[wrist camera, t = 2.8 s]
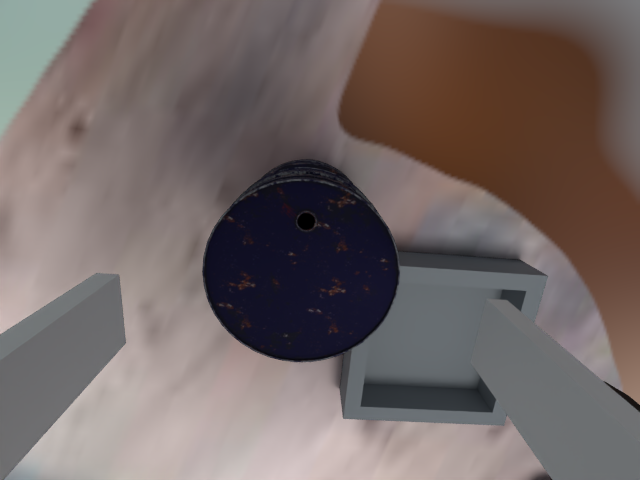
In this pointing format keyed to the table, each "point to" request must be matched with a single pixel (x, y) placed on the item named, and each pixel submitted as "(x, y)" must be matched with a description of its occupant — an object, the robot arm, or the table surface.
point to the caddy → (435, 341)
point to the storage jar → (301, 265)
